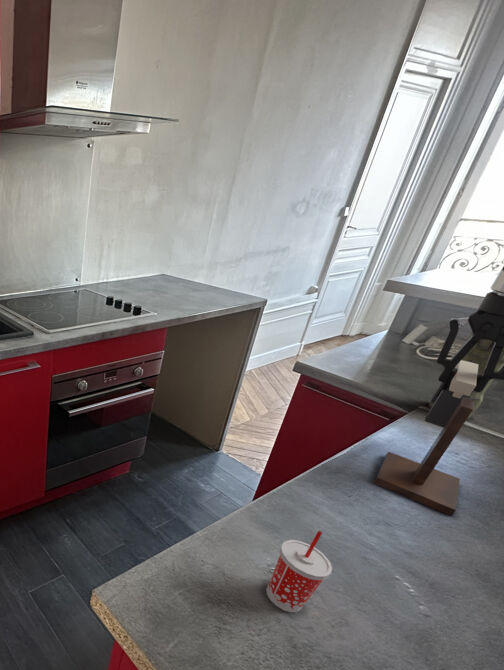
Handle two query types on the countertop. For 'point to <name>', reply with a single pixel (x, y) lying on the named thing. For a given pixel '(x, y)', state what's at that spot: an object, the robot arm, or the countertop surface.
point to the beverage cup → (297, 574)
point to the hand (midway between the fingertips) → (450, 398)
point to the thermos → (480, 366)
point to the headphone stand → (427, 469)
